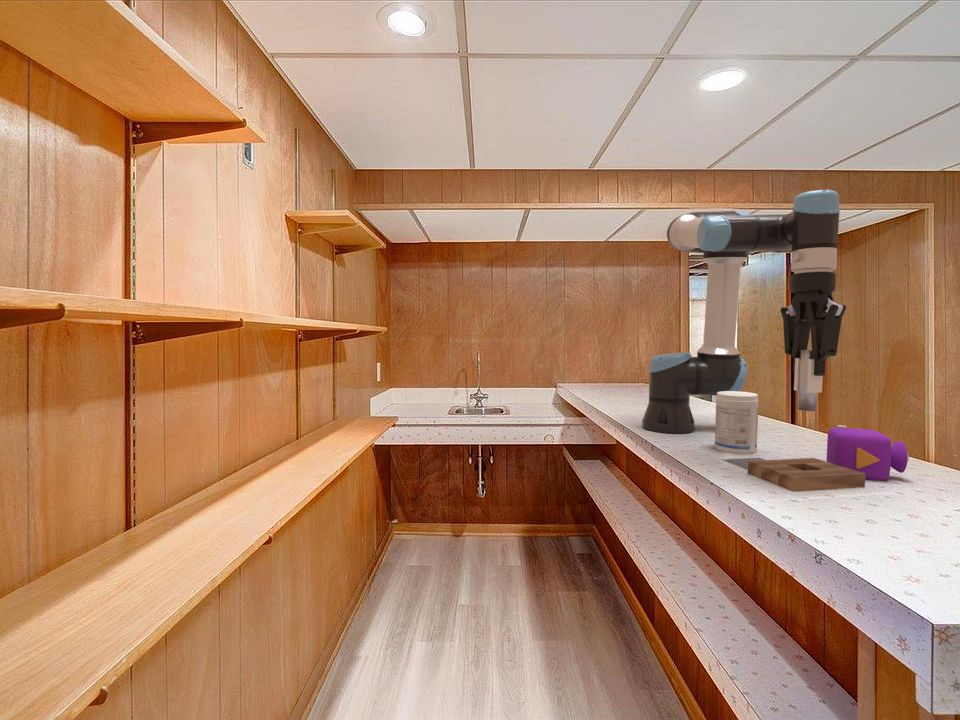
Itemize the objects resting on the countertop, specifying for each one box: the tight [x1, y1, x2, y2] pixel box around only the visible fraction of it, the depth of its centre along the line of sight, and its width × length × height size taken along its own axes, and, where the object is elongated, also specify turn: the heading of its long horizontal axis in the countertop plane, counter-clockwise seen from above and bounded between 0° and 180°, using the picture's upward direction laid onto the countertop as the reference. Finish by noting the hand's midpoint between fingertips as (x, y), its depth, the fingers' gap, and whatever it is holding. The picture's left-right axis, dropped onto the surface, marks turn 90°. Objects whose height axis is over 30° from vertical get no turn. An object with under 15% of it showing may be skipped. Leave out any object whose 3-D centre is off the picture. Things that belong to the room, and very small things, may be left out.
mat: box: [721, 457, 766, 471], centre depth 112 cm, size 12×10×1 cm
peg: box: [797, 349, 817, 412], centre depth 101 cm, size 3×3×12 cm
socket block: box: [747, 457, 866, 493], centre depth 102 cm, size 12×16×3 cm
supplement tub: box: [714, 390, 759, 455], centre depth 127 cm, size 10×10×15 cm
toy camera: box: [826, 424, 910, 482], centre depth 106 cm, size 11×14×10 cm
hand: (807, 391), depth 101 cm, fingers closed on peg, 2 cm apart
